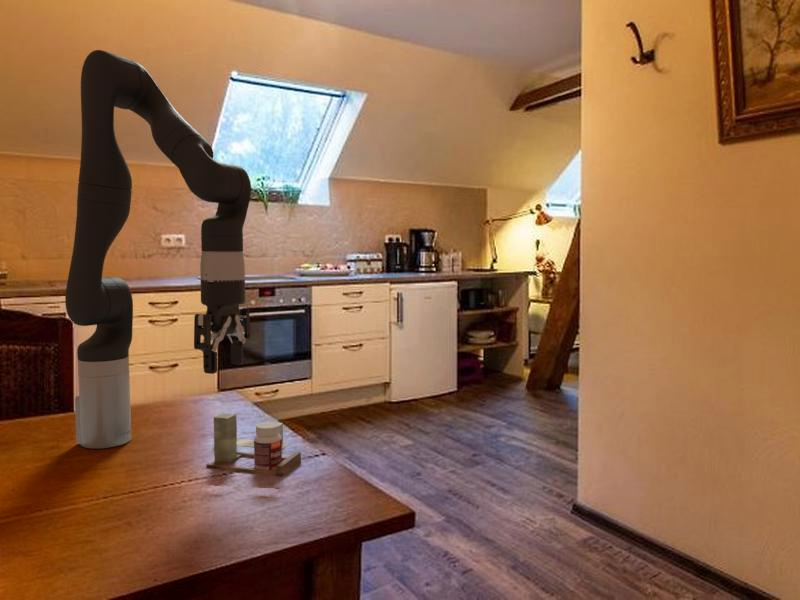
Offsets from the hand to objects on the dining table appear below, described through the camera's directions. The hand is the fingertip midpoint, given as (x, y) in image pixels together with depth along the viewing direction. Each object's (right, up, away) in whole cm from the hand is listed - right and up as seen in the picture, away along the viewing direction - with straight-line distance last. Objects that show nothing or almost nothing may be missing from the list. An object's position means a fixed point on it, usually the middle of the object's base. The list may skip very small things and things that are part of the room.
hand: (224, 368), depth 107 cm
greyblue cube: (+6, -16, +10) cm, 20 cm away
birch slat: (+2, -17, +11) cm, 20 cm away
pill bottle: (+8, -18, -1) cm, 20 cm away
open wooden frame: (+5, -18, 0) cm, 19 cm away
